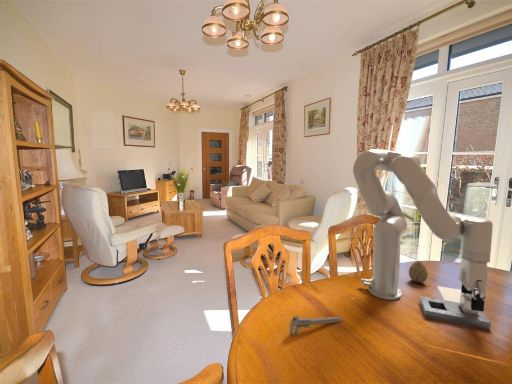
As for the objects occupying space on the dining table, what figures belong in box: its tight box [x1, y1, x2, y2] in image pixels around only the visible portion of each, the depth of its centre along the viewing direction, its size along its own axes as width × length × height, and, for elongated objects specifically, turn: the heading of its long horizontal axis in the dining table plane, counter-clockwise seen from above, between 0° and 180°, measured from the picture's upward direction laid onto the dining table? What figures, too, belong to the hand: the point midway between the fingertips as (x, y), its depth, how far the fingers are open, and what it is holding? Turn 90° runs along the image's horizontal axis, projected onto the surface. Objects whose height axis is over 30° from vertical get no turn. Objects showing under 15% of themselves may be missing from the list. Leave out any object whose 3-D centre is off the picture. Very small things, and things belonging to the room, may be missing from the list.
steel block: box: [459, 292, 478, 316], centre depth 90 cm, size 4×4×8 cm
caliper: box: [289, 315, 343, 336], centre depth 87 cm, size 20×1×6 cm, turn 112°
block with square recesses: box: [419, 295, 492, 331], centre depth 92 cm, size 18×10×3 cm, turn 67°
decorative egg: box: [408, 260, 429, 284], centre depth 116 cm, size 7×7×10 cm
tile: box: [436, 285, 461, 303], centre depth 104 cm, size 12×12×1 cm
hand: (471, 302), depth 89 cm, fingers open, 9 cm apart
